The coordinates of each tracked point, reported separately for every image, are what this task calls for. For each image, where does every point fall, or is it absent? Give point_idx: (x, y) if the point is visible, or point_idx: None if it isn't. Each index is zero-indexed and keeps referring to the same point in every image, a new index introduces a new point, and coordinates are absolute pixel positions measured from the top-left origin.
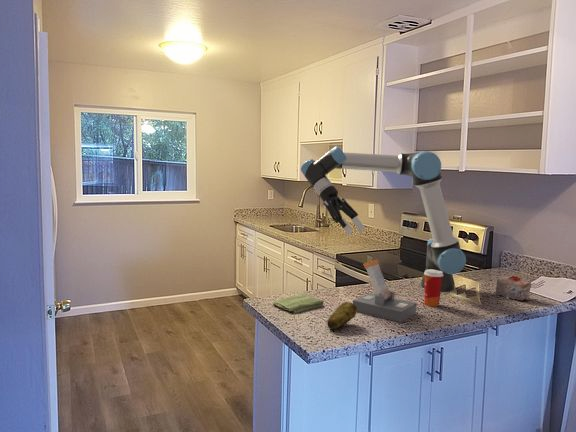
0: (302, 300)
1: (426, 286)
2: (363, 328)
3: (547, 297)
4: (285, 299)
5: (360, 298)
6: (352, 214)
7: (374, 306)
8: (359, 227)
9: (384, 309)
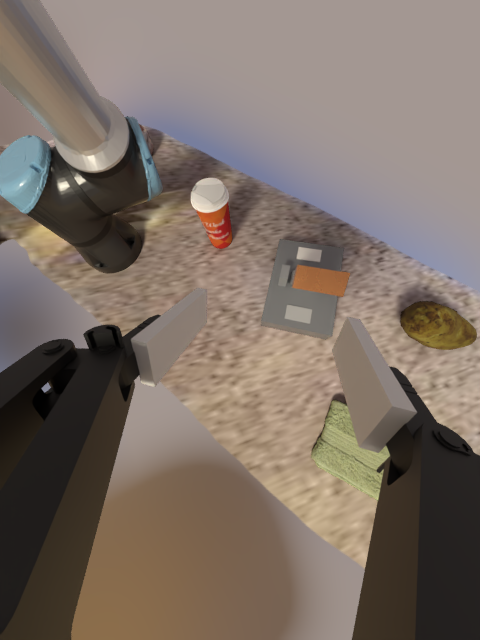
0: None
1: (225, 223)
2: (402, 297)
3: None
4: None
5: (311, 326)
6: (115, 382)
7: None
8: (196, 321)
9: None
